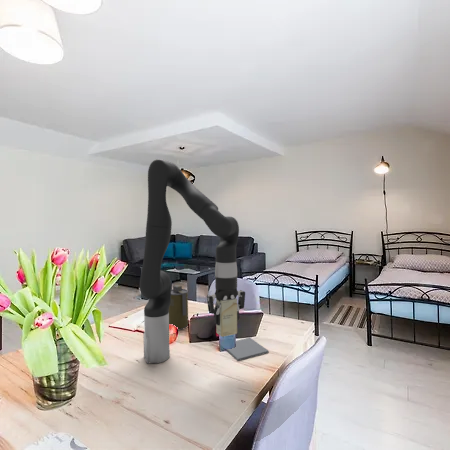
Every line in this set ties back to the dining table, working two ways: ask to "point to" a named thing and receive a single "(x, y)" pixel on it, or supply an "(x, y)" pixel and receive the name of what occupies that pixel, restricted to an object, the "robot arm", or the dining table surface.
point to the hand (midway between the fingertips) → (226, 322)
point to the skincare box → (227, 318)
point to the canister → (179, 307)
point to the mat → (246, 349)
